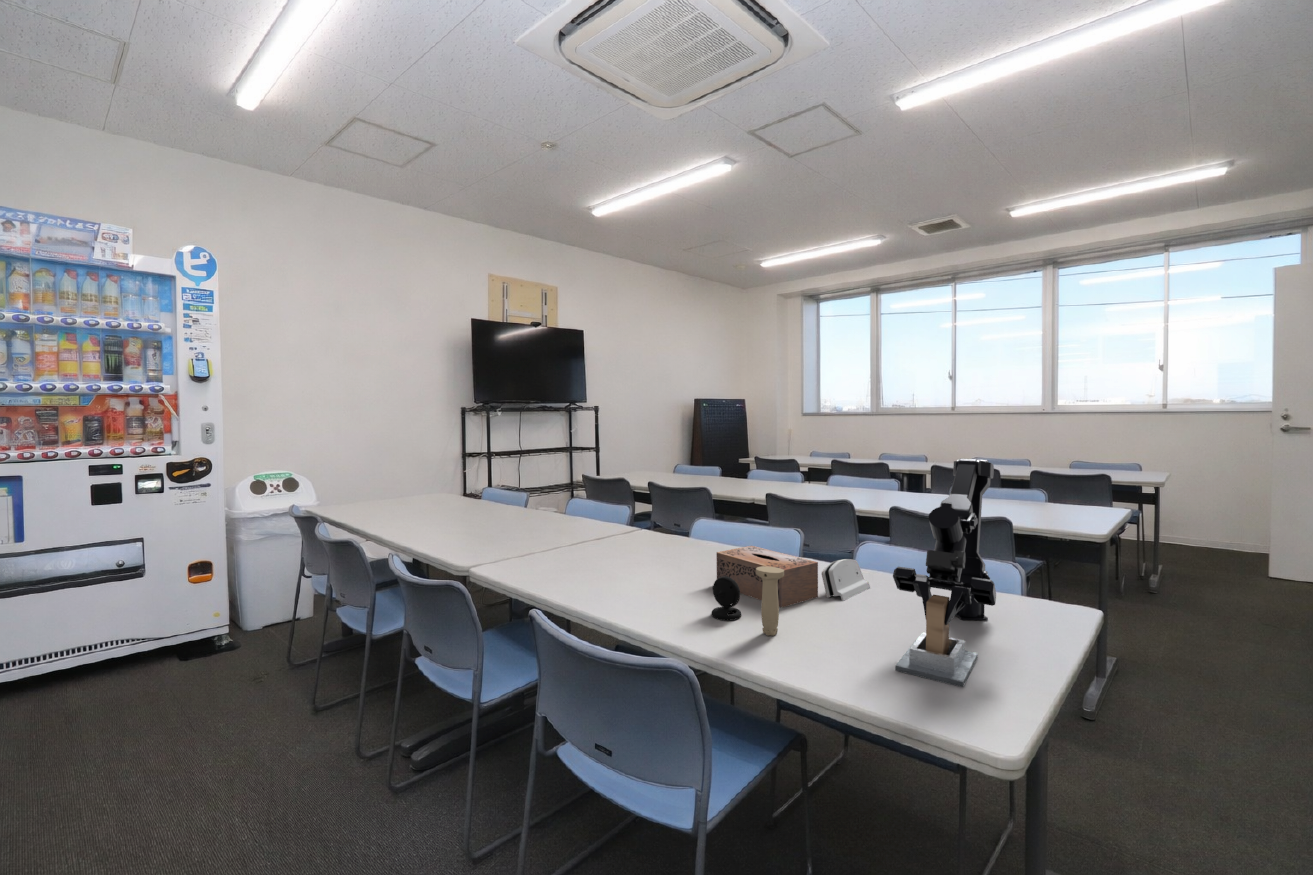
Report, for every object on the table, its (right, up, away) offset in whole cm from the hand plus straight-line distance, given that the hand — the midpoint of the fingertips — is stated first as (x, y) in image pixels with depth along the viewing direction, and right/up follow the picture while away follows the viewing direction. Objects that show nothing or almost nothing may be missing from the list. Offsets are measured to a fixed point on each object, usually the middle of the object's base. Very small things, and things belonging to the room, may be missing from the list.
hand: (936, 622), depth 116 cm
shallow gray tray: (+1, -9, +1) cm, 9 cm away
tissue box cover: (-25, -8, +51) cm, 57 cm away
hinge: (-2, -7, +50) cm, 50 cm away
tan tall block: (+1, -7, +1) cm, 7 cm away
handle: (-30, -9, +18) cm, 36 cm away
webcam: (-38, -8, +31) cm, 50 cm away
